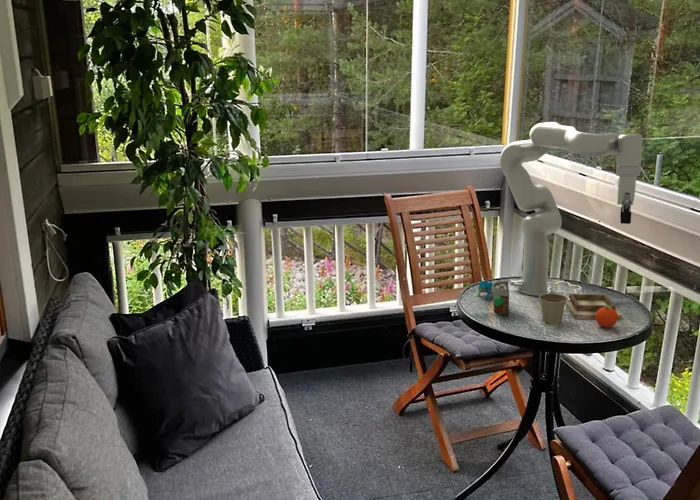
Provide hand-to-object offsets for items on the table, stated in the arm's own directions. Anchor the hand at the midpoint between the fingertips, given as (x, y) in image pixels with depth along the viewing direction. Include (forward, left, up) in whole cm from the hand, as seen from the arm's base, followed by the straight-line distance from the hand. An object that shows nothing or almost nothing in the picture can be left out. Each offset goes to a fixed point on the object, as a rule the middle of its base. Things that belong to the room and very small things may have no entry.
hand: (625, 220), depth 214 cm
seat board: (-9, +2, -33) cm, 34 cm away
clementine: (-8, -15, -33) cm, 37 cm away
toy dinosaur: (-44, +14, -34) cm, 57 cm away
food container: (-42, -2, -33) cm, 53 cm away
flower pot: (-25, -11, -33) cm, 43 cm away
